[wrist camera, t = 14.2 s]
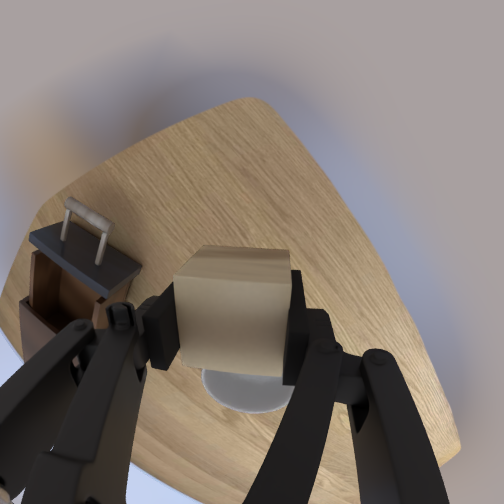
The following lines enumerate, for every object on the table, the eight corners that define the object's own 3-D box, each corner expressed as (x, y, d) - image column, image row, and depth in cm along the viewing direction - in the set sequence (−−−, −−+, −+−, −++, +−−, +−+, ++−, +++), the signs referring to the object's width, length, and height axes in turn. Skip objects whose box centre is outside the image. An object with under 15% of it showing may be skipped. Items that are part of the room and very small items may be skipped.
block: (203, 244, 16) (172, 275, 11) (289, 249, 16) (292, 284, 11) (205, 318, 18) (182, 366, 13) (282, 325, 17) (281, 377, 12)
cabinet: (58, 277, 36) (18, 301, 27) (129, 326, 37) (95, 363, 28) (54, 347, 41) (26, 374, 32) (112, 389, 42) (88, 423, 33)
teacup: (309, 360, 35) (313, 402, 27) (239, 383, 37) (230, 423, 30) (263, 275, 32) (257, 307, 25) (187, 308, 35) (164, 342, 27)
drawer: (77, 182, 30) (37, 189, 23) (156, 226, 31) (122, 244, 23) (55, 307, 37) (26, 329, 29) (116, 351, 37) (91, 381, 30)
